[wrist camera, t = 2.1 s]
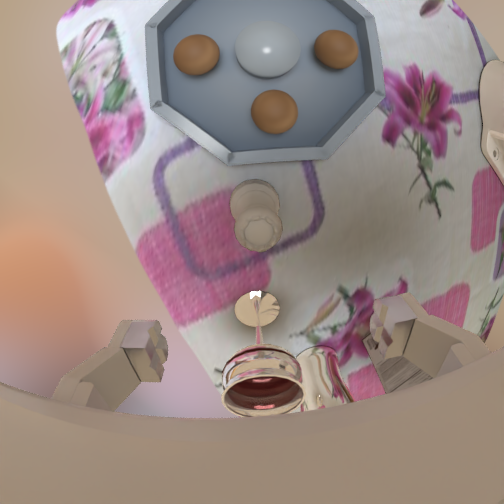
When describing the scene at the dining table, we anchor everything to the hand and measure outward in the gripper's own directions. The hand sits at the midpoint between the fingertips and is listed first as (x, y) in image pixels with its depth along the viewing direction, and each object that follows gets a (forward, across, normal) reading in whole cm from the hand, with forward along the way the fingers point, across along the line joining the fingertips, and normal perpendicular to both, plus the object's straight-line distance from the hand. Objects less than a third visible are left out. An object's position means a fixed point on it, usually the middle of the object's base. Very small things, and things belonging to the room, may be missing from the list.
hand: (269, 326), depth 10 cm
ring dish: (+17, -2, -14) cm, 22 cm away
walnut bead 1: (+16, +3, -14) cm, 21 cm away
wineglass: (+17, 0, +12) cm, 21 cm away
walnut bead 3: (+16, -8, -14) cm, 22 cm away
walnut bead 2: (+16, -2, -8) cm, 18 cm away
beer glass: (+17, -7, +22) cm, 29 cm away
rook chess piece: (+17, 0, 0) cm, 17 cm away
